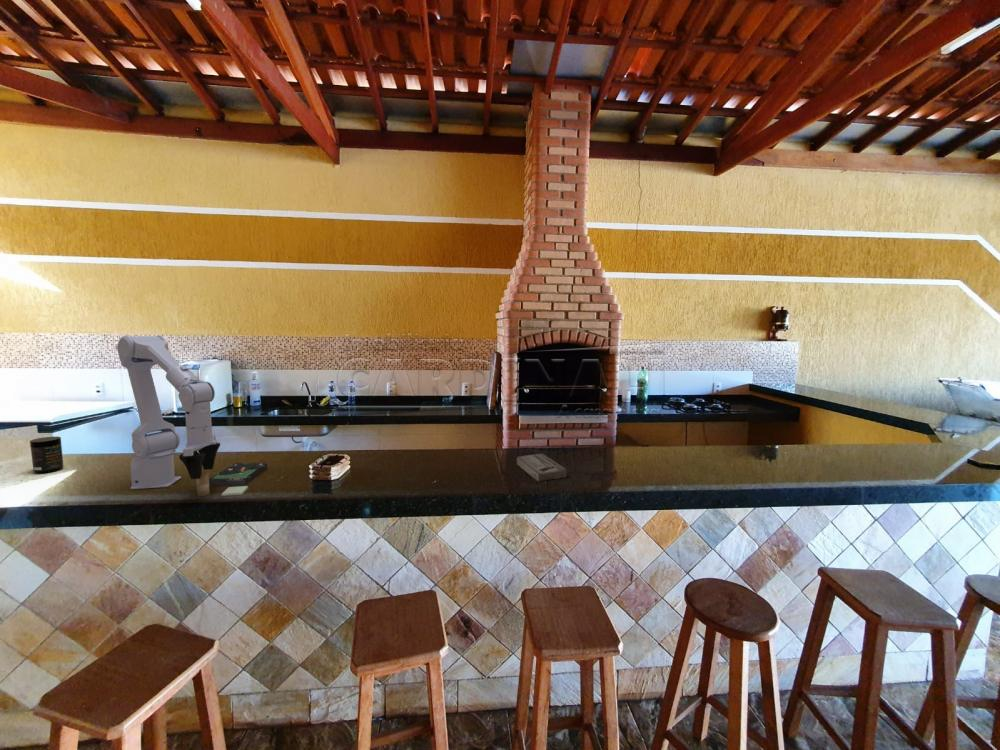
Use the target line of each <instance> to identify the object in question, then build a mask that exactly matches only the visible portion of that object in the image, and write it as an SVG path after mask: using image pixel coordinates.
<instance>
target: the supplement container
mask: <svg viewBox="0 0 1000 750" xmlns="http://www.w3.org/2000/svg"><path fill="white" fill-rule="evenodd" d="M29 447H30V452H31V455H30V456H31V463H32V471H33V473H34V474H36V475H37V474H38V475H42V474H51V473H56V472H58V471H61V470H62V469H64V467H65V466H64V457H63V448H62V447H63V445H62V437H61V436H46V437H38V438H33V439H31V440H29Z"/></svg>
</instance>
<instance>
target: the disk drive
mask: <svg viewBox="0 0 1000 750" xmlns="http://www.w3.org/2000/svg"><path fill="white" fill-rule="evenodd" d="M267 470H268V463H267V462H248V463H246V464H245V463H243V462H235V463H233V464H232V465H230V466H228V467H226V468H225V469H223V470H222V471H219V472H218V473H217V474H214V475H212V476H211V477H210V478H209V487H214V486H217V487H219V486H220V487H221V486H224V487H225V486H247V484H248V483H250V482H251V481H252V480H255V478H257V477H259V475H262V474H263V473H265V471H267Z"/></svg>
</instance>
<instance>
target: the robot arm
mask: <svg viewBox="0 0 1000 750" xmlns="http://www.w3.org/2000/svg"><path fill="white" fill-rule="evenodd" d="M116 346H117V347H116V349H117V353H118V357H119V361H120V365H121V367H123V368H126V370H127V374H128V377H129V380H130V385H131V388H132V393H133V397H134V401H135V406H136V409H137V413H138V416H139V420H140V425H139V426H138V427H137V428H136V429H134V430H133V432H132V433H131V440H132V443H131V449H132V451H133V453H134V454H135V455H136V456H135V457H134V458H133V459H132V460H131V463H130V477H131V479H130V480H131V487H130V490H140V489H156V488H168V487H170V486H172V485H173V484H174V483H176V482H177V481H179V480H180V479H182V476H176V475H175V464H174V463H175V462H174V453H176V452H177V451H176V450H177V449H178V448H179V447H180V445H181V444H180V443H181V438H180V435H179V433H178V432H177V430H176V429H175V428H176V427H175V425H174V424H173V423H170V422H168V421H167V420H164V417H163V414H162V409H161V406H160V403H159V397H158V393H157V390H156V386H155V383H154V378H153V375H152V371H151V370H152V368H153V366H156V365H157V366H159V368H161V369H162V370H163V371H164V372H165V373H166V374H165V378H166V380H167V382H168V383H169V384H170V385H171V386H172V387H173V388H174V389H175V390H176V391H177V392H178V395H177V396H178V399H179V402H180V403H181V409H182V411H183V412H185V413H184V414H185V415H184V416H185V426H186V427H185V428H186V442H187V443H186V444H185V446H184V448H183V449H182V453H181V454H179V455H178V456H179V460H180V461H181V462H182V463H183V465H184V466H185V468H186V470H187V472H188V475H189V477H190V479H191V480H196V479H200V478H201V474H202V472H203V470H206V471H207V470H213V469H214V466H215V461H216V457H217V453H218V451H219V449H220V447H221V442H218V440H217V437H216V434H213V428H212V424H213V423H212V410H211V402H213V401H214V399H215V397H216V396H215V395H216V392H215V388H214V385H212V383H211V382H209V381H204V380H203V379H202V380H201V379H200V378H199V377H198V376H197V375H195V373H194V372H192V370H191V369H190V368H189V367H188V366H187V365H181V364H179V362H178V361H177V360H176V359H175V358H174V356H173V355H172V354H171V352H170V351H169V342H168V341H167V340H166V338H165V337H164V336H162V335H155V336H154V335H150V336H148V335H146V336H145V335H144V336H143V335H142V336H141V335H140V336H139V335H138V336H137V335H136V336H129V335H123V336H121V337H120V339H119V341H118V342H117V345H116Z"/></svg>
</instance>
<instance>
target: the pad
mask: <svg viewBox="0 0 1000 750" xmlns="http://www.w3.org/2000/svg"><path fill="white" fill-rule="evenodd" d="M248 489H249V486H248V485H239V486H230V487H229V486H228V487H227V488H226V489H225V490H224V491H223V492H222V493H221V497H226V496H240V495H243V494H244V493H245V492H246V491H247V490H248Z"/></svg>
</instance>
